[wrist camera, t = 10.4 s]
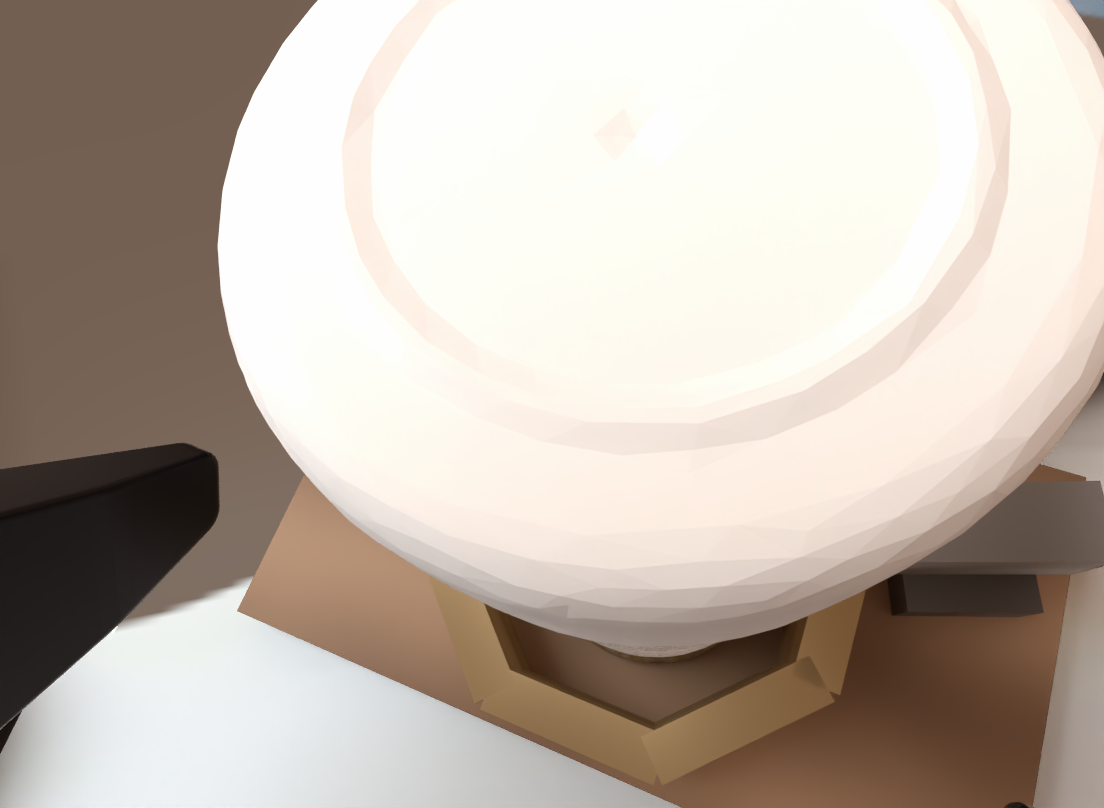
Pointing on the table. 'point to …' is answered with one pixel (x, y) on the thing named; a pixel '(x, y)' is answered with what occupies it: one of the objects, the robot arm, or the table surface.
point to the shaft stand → (739, 665)
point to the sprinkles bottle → (669, 290)
